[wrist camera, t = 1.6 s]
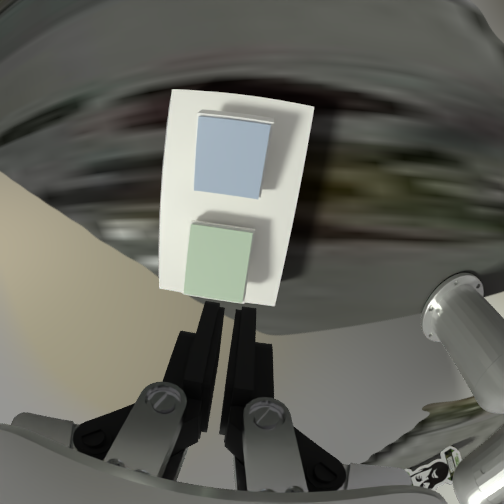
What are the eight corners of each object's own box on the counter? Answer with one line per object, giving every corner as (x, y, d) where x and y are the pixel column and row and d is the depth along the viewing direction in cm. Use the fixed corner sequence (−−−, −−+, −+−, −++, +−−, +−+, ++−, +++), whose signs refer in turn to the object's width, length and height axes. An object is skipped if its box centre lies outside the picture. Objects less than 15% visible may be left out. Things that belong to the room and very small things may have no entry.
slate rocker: (273, 118, 22) (273, 123, 21) (261, 191, 27) (260, 201, 25) (201, 109, 22) (196, 113, 20) (196, 182, 26) (191, 192, 25)
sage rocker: (255, 228, 28) (255, 231, 26) (244, 298, 29) (243, 305, 27) (193, 220, 28) (188, 221, 26) (185, 289, 29) (181, 295, 27)
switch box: (306, 110, 28) (316, 106, 23) (273, 283, 37) (274, 310, 31) (183, 94, 28) (166, 88, 22) (169, 267, 36) (154, 292, 31)
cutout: (469, 471, 48) (400, 511, 53) (469, 473, 49) (401, 511, 54) (453, 439, 62) (388, 477, 67) (453, 441, 63) (390, 479, 68)
